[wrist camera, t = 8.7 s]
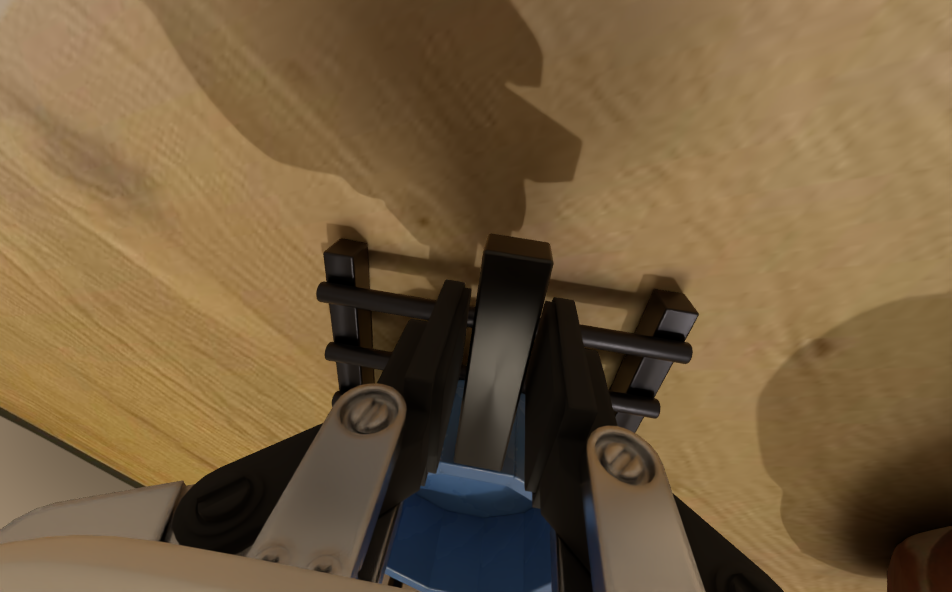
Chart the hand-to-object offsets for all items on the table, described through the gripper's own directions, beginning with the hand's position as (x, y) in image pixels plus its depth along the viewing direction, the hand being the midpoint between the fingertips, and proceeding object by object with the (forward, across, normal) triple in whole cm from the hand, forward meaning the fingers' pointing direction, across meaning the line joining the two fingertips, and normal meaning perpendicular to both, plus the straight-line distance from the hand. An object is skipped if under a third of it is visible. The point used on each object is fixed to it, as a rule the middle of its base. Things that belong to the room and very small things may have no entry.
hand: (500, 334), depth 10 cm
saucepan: (+2, 0, +5) cm, 6 cm away
